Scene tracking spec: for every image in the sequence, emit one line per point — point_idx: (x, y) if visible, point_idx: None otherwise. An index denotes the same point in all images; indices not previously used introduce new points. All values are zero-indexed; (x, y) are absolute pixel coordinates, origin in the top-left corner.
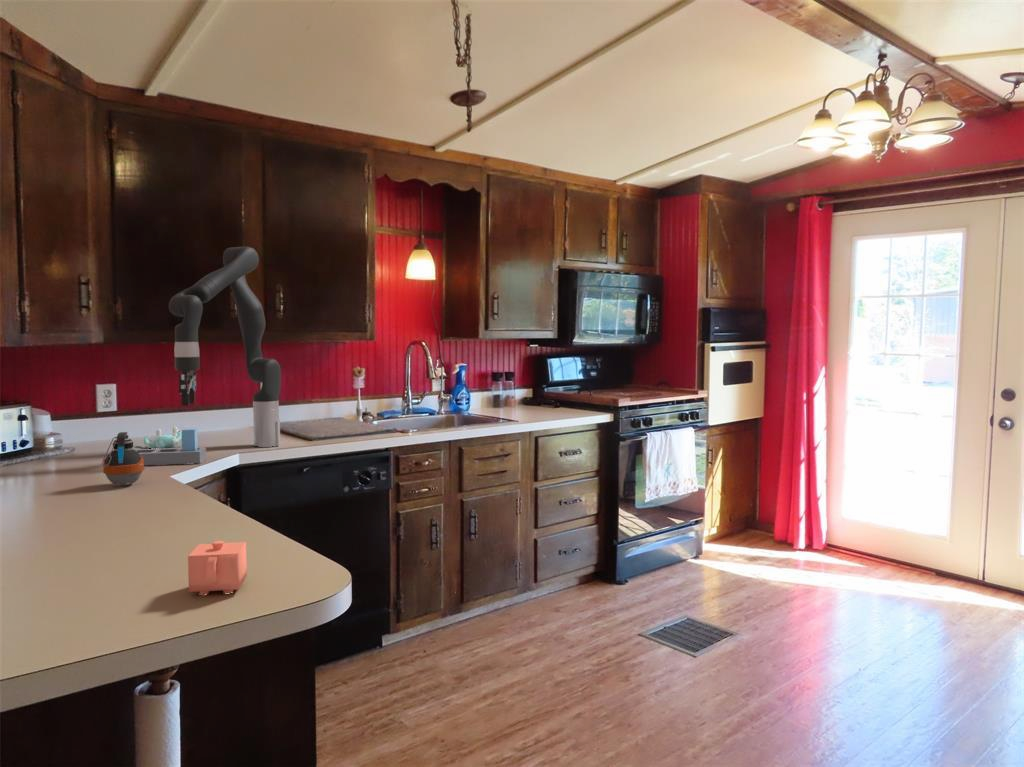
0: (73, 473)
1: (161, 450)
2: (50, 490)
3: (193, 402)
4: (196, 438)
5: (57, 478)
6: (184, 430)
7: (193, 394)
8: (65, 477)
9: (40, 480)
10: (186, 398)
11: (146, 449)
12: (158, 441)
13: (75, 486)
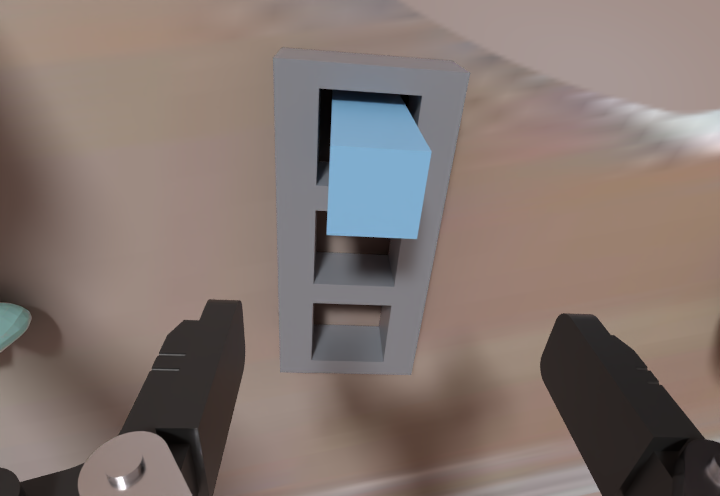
0: (472, 433)
1: (314, 278)
2: (712, 418)
3: (240, 310)
4: (361, 124)
5: (536, 444)
6: (418, 219)
7: (207, 403)
8: (530, 434)
9: (545, 465)
10: (670, 398)
11: (298, 336)
12: (11, 338)
13: (696, 385)
